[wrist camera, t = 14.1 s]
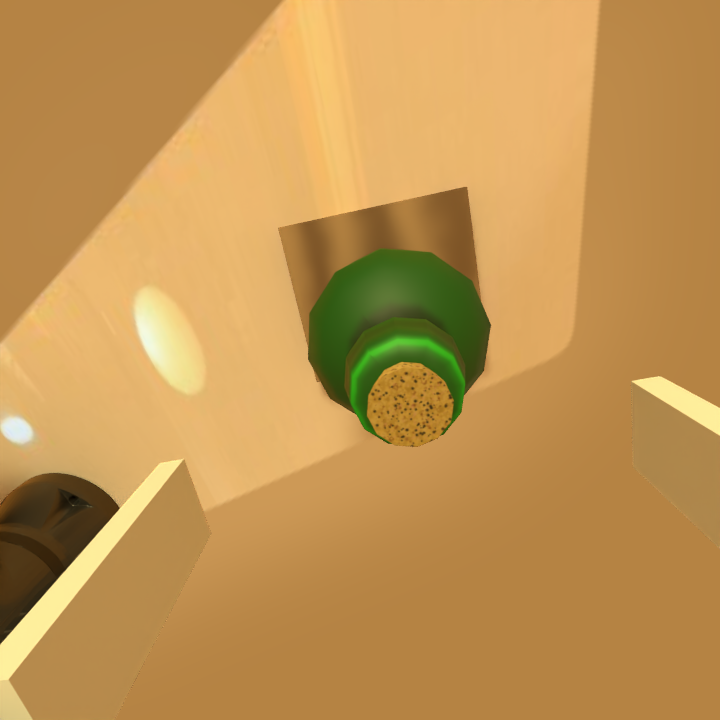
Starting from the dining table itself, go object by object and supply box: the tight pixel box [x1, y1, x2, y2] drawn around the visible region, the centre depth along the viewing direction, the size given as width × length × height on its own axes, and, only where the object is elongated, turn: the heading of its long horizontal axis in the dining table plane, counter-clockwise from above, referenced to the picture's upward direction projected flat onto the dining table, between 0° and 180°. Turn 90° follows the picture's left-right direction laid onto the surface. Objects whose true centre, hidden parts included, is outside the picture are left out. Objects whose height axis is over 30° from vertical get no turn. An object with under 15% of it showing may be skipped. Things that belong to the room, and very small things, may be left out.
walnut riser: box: [278, 187, 481, 382], centre depth 44 cm, size 18×16×3 cm
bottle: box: [308, 248, 491, 447], centre depth 29 cm, size 11×11×28 cm
